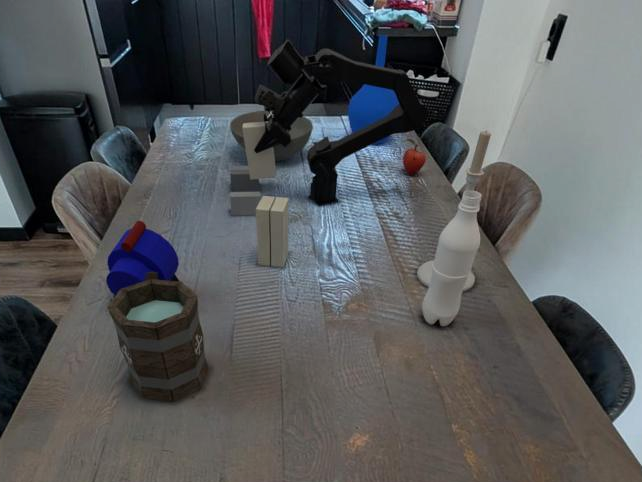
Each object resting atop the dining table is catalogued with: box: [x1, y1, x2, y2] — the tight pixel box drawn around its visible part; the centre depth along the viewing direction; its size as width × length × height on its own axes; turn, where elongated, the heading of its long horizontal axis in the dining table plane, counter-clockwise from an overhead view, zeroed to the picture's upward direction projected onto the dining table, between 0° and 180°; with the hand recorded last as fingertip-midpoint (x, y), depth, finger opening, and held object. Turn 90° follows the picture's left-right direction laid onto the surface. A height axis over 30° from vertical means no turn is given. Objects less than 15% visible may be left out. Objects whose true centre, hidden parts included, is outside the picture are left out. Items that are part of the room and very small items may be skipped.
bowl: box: [229, 110, 314, 162], centre depth 154 cm, size 26×26×10 cm
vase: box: [347, 34, 399, 145], centre depth 161 cm, size 18×18×30 cm
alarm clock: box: [105, 220, 181, 298], centre depth 94 cm, size 12×12×15 cm
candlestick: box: [416, 129, 492, 293], centre depth 97 cm, size 13×13×30 cm
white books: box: [255, 195, 290, 268], centre depth 107 cm, size 7×6×13 cm
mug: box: [107, 272, 210, 402], centre depth 80 cm, size 20×14×15 cm
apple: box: [402, 138, 427, 176], centre depth 147 cm, size 8×7×10 cm
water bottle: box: [421, 190, 483, 327], centre depth 88 cm, size 7×7×25 cm
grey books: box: [229, 165, 262, 217], centre depth 133 cm, size 8×21×5 cm, turn 5°
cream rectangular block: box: [242, 121, 277, 180], centre depth 124 cm, size 7×3×13 cm, turn 89°
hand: (255, 149), depth 124 cm, fingers closed on cream rectangular block, 3 cm apart
